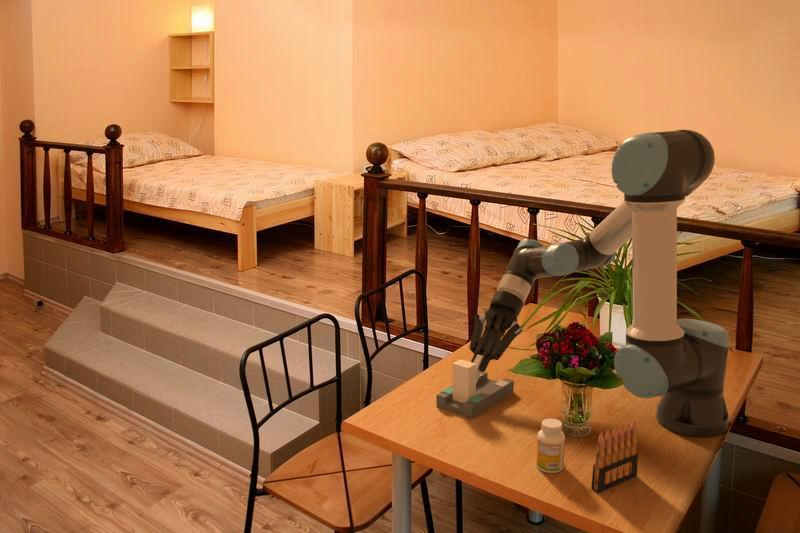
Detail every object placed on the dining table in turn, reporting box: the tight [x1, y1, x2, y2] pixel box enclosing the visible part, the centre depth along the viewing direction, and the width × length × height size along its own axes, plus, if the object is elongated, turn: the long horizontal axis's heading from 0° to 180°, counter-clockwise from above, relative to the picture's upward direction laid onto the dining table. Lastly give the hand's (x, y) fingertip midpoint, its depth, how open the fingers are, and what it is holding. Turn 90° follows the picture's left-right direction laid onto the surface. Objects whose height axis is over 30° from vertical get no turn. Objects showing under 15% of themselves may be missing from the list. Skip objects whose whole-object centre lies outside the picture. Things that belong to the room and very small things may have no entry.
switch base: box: [435, 371, 515, 419], centre depth 184 cm, size 18×10×3 cm, turn 140°
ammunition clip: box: [590, 420, 639, 494], centre depth 147 cm, size 11×2×12 cm, turn 122°
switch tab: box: [451, 359, 476, 403], centre depth 179 cm, size 3×4×9 cm
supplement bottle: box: [536, 418, 566, 474], centre depth 153 cm, size 5×5×10 cm
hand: (470, 381), depth 181 cm, fingers closed
